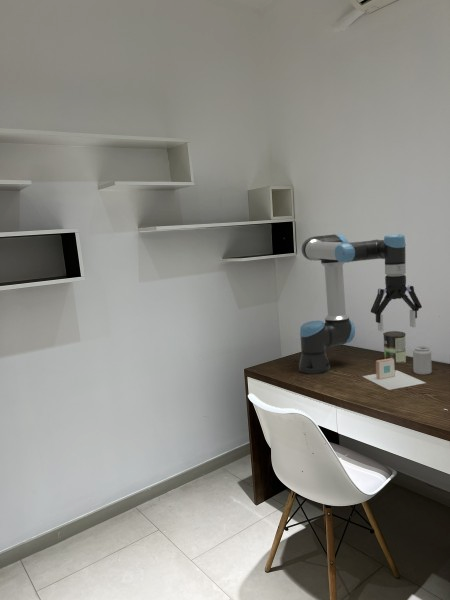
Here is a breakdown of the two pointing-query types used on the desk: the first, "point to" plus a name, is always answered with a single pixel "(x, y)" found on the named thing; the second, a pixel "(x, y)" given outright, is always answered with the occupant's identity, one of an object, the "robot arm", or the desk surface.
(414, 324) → the robot arm
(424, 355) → the can
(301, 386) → the desk surface
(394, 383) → the mat
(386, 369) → the tile
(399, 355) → the coffee can
